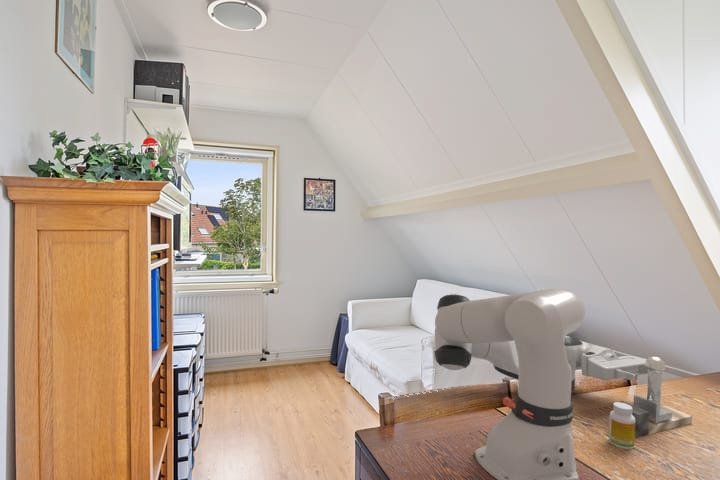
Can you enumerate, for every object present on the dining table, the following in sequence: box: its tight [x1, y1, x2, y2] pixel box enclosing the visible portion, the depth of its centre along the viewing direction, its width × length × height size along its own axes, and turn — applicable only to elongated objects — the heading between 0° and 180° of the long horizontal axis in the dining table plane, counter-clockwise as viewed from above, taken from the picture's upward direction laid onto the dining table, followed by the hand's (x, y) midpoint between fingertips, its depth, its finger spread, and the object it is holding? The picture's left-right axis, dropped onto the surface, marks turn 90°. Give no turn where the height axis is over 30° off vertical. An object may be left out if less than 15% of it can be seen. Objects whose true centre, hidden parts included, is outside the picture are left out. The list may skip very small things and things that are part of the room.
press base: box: [612, 400, 693, 438], centre depth 109 cm, size 22×7×6 cm, turn 111°
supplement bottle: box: [608, 401, 636, 450], centre depth 99 cm, size 5×5×10 cm
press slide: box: [632, 355, 672, 423], centre depth 109 cm, size 7×6×16 cm
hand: (647, 375), depth 111 cm, fingers open, 8 cm apart
